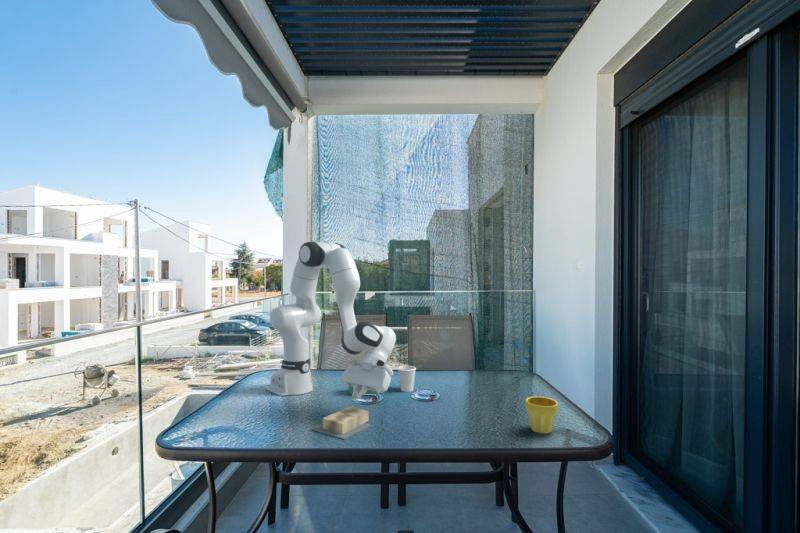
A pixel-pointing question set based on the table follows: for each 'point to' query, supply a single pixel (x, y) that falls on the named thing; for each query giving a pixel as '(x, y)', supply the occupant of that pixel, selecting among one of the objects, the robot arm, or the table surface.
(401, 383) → the dixie cup
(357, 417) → the oak slab
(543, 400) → the plant pot
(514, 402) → the table surface
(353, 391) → the box
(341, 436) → the mat
